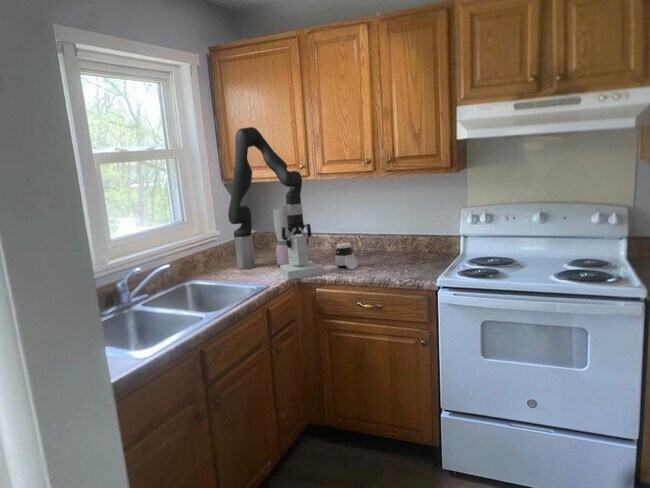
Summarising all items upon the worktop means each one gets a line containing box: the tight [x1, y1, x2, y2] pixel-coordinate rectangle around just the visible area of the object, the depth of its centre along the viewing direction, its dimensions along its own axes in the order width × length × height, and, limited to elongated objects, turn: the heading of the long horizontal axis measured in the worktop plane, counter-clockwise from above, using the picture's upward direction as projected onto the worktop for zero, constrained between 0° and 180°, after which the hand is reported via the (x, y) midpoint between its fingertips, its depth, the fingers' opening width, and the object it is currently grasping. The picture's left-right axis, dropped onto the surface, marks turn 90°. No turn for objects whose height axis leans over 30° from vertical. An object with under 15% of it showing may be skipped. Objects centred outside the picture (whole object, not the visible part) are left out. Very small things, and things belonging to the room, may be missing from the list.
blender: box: [272, 204, 297, 269], centre depth 255 cm, size 16×12×32 cm
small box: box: [287, 235, 310, 265], centre depth 237 cm, size 8×6×13 cm
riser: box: [279, 260, 322, 281], centre depth 238 cm, size 16×16×4 cm
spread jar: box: [334, 242, 358, 270], centre depth 243 cm, size 12×11×12 cm
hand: (297, 246), depth 236 cm, fingers closed on small box, 8 cm apart
